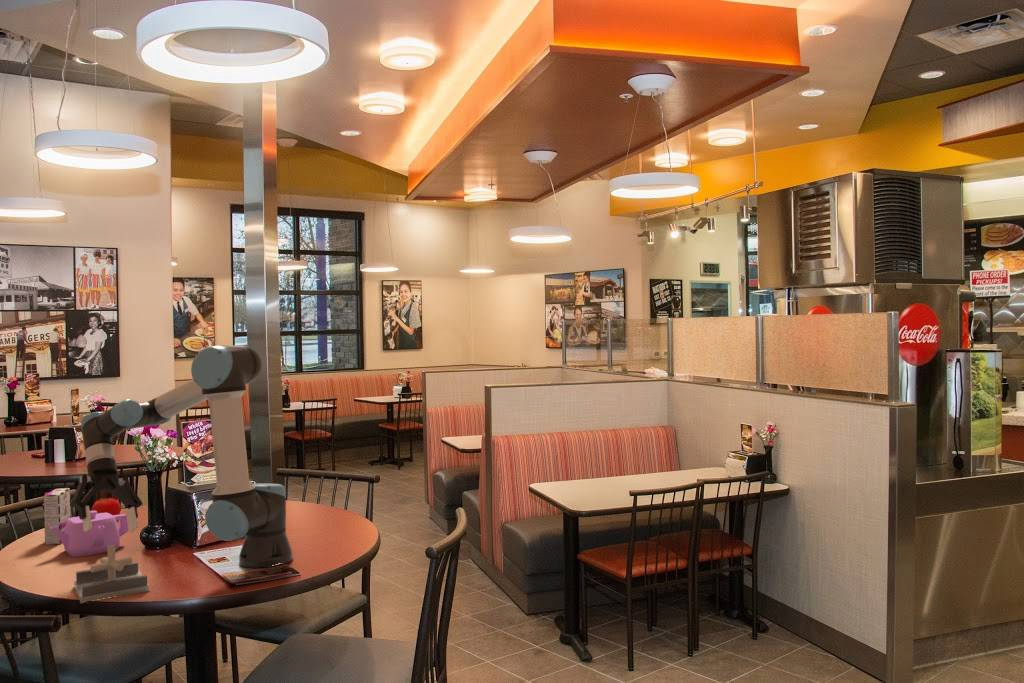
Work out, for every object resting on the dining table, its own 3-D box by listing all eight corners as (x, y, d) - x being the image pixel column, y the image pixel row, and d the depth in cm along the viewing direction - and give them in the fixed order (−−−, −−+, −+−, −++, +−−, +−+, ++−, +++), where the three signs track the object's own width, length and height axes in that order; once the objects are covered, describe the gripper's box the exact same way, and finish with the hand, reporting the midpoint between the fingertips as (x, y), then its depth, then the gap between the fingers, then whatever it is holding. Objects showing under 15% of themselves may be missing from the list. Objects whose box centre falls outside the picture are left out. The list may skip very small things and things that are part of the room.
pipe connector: (122, 574, 213) (122, 538, 213) (139, 581, 207) (139, 544, 206) (84, 584, 205) (83, 546, 205) (100, 591, 199) (100, 553, 199)
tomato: (126, 517, 287) (125, 495, 287) (108, 524, 277) (108, 501, 277) (102, 517, 288) (102, 495, 288) (84, 524, 278) (84, 501, 278)
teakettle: (132, 543, 252) (131, 505, 252) (103, 558, 235) (102, 517, 235) (80, 543, 253) (80, 505, 253) (48, 558, 236) (47, 517, 236)
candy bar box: (55, 536, 261) (54, 488, 260) (71, 535, 262) (70, 487, 262) (43, 545, 250) (42, 495, 250) (60, 544, 251) (59, 494, 251)
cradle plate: (139, 575, 217) (139, 561, 217) (149, 591, 204) (149, 575, 204) (74, 586, 208) (73, 572, 208) (80, 603, 195) (80, 587, 195)
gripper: (132, 470, 238) (144, 535, 229) (50, 465, 217) (59, 535, 208) (147, 459, 236) (159, 523, 226) (65, 453, 215) (75, 523, 206)
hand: (111, 529), depth 217 cm, fingers open, 13 cm apart
